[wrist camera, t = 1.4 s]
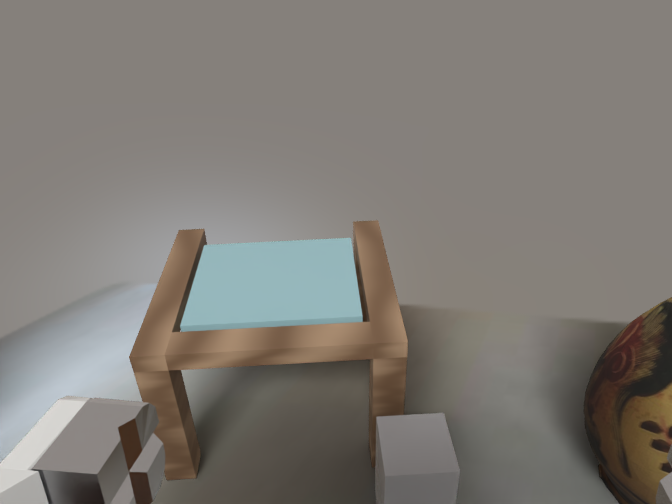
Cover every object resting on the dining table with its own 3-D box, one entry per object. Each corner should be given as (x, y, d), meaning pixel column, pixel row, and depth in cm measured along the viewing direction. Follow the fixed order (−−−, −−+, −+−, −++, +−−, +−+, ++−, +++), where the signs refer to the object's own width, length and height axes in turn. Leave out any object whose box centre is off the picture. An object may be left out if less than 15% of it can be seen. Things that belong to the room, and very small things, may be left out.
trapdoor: (182, 336, 42) (180, 325, 41) (205, 253, 52) (204, 245, 52) (362, 326, 42) (362, 316, 42) (350, 246, 53) (350, 237, 52)
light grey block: (382, 552, 40) (385, 476, 36) (374, 491, 45) (376, 416, 40) (449, 547, 41) (460, 471, 36) (435, 487, 45) (443, 412, 40)
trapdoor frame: (166, 480, 46) (129, 357, 39) (201, 337, 62) (179, 230, 54) (400, 465, 47) (408, 341, 39) (376, 327, 62) (377, 220, 55)
